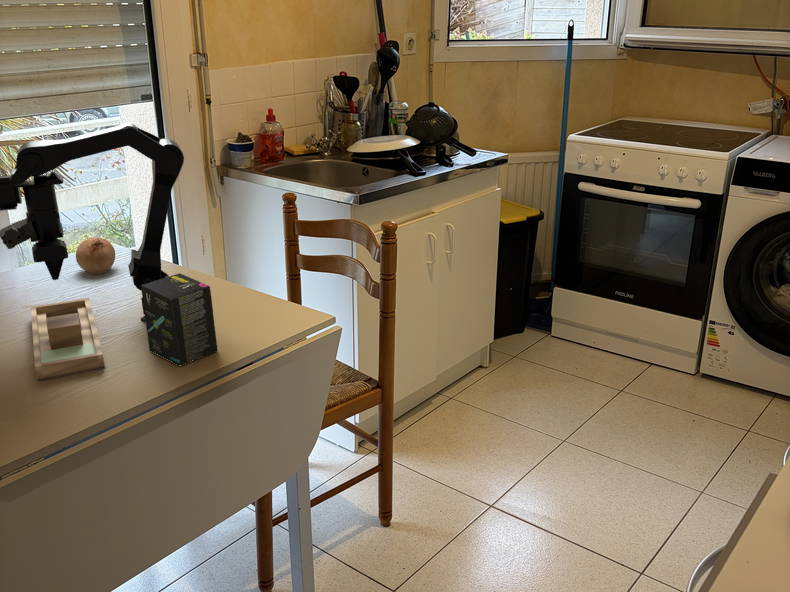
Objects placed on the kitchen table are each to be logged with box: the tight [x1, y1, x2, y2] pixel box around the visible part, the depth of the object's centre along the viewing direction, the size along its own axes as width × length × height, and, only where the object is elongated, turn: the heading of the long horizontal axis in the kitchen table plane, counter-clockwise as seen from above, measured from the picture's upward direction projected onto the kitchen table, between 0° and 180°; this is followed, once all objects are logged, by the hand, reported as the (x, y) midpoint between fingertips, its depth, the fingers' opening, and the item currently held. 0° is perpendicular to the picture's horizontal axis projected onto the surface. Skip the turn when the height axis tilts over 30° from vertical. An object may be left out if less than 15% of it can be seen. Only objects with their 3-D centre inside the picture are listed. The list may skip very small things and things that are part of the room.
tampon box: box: [140, 273, 219, 366], centre depth 155 cm, size 11×9×15 cm
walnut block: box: [46, 313, 83, 350], centre depth 157 cm, size 6×6×4 cm
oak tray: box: [30, 297, 106, 381], centre depth 160 cm, size 30×12×3 cm, turn 25°
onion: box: [75, 236, 116, 274], centre depth 196 cm, size 10×9×10 cm
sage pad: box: [40, 343, 96, 363], centre depth 152 cm, size 8×10×1 cm
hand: (55, 279), depth 161 cm, fingers closed
